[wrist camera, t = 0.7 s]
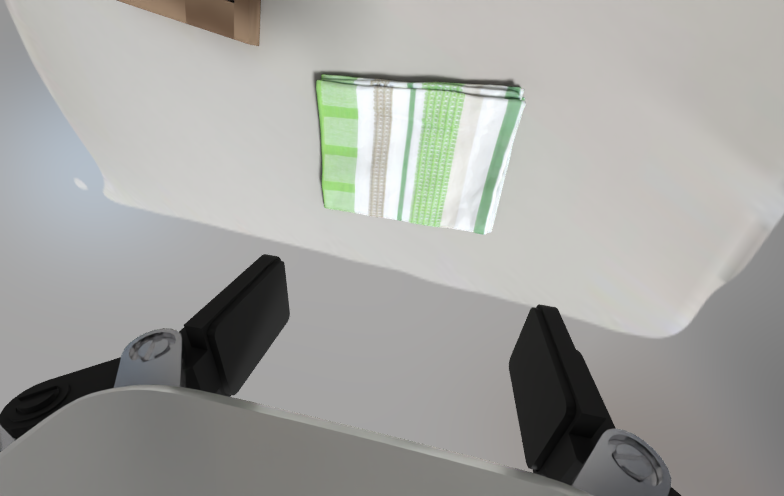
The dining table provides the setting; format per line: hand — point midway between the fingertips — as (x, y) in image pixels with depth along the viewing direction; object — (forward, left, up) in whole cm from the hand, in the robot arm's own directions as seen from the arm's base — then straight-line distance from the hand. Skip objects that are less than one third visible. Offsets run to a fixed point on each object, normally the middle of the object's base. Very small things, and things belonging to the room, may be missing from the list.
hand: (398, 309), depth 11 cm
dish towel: (+1, -3, -30) cm, 30 cm away
